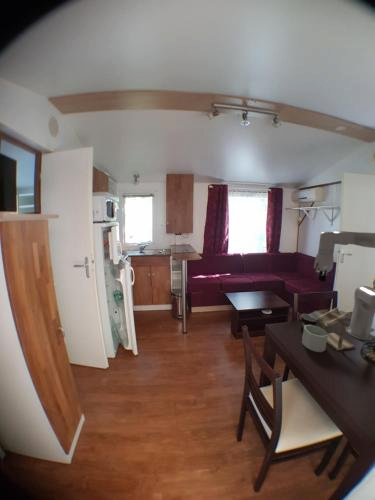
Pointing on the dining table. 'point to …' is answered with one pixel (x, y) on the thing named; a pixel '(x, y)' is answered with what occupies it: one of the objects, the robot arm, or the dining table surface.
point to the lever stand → (338, 338)
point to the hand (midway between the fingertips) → (321, 280)
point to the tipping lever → (331, 317)
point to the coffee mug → (306, 321)
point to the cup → (314, 338)
